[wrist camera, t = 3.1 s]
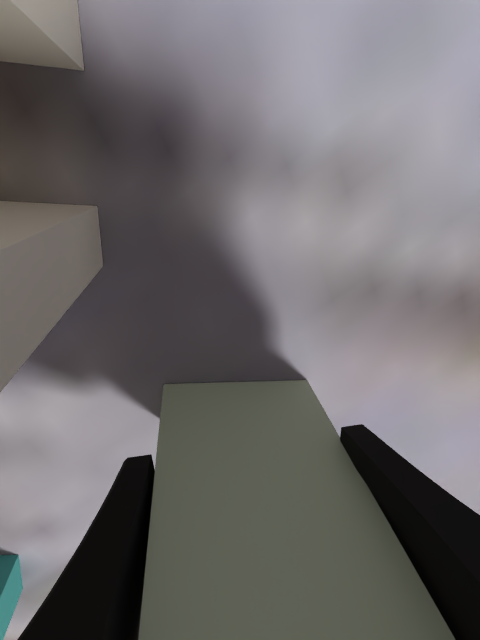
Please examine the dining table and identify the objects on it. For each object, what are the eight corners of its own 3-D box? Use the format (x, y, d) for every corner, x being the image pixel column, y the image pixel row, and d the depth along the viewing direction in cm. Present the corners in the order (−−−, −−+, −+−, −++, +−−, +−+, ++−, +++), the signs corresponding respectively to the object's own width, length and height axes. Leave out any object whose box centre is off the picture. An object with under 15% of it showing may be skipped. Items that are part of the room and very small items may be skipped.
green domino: (300, 415, 13) (452, 742, 6) (164, 422, 12) (133, 815, 5) (307, 380, 12) (487, 696, 5) (163, 384, 11) (125, 771, 4)
